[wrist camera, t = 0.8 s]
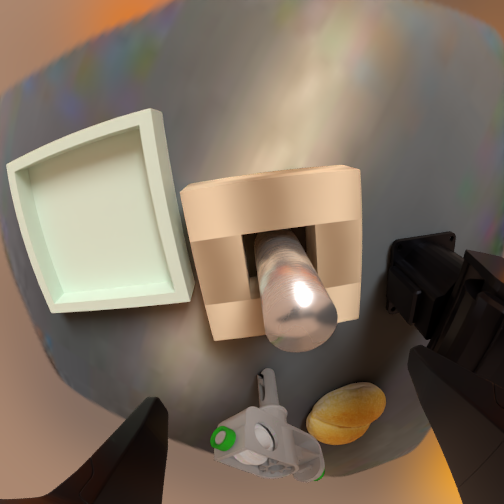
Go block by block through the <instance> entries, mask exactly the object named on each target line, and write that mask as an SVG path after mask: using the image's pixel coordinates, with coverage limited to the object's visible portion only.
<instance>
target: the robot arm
mask: <svg viewBox="0 0 504 504" xmlns="http://www.w3.org/2000/svg"><path fill="white" fill-rule="evenodd" d="M450 237H451V238H450ZM455 239H456V236H455V234H454V233H453V232H450V231H449V232H443V233H436V234H430V235H423V236H417V237H410V238H404V239H397V240H395V241H394V242H393V244H392V251H391V266H390V269H389V273H388V284H387V294H386V297H387V306H386V310H387V311H388V312H389V314H394V313H398V312H399V313H400V314H401V315H402V317H403V318H404V319H405V320H406V322H407V323H408V324H409V325H415V327H416V328H417V329H418V330H419V332H420V333H421V334H422V335H423V337H424V338H425V339H426V340H429V339H430V341H429V343H428V345H427V347H425V346H423V345H418V346H415V347H413V348H411V350H410V353H409V359H408V370H409V373H410V376H411V379H412V381H413V384H414V387H415V390H416V392H417V395H418V398H419V401H420V403H421V406H422V408H423V410H424V412H425V414H426V416H427V418H428V420H429V423H430V425H431V427H432V429H433V431H434V433H435V435H436V438H437V440H438V442H439V444H440V447H441V449H442V451H443V454H444V456H445V458H446V461H447V463H448V466H449V468H450V470H451V473H452V476H453V478H454V481H455V483H456V486H457V488H458V492H459V494H460V497H461V500H462V503H463V504H504V258H503V257H500V256H496V255H491V254H486V253H481V252H476V251H471V250H466V251H465V254H464V257H463V258H462V257H461V256H459V255H458V254H456V253H455V252H454V248H455ZM399 244H400V247H399V248H398V249H397V246H398V245H399ZM392 307H393V308H392ZM391 308H392V309H391ZM167 450H168V411H167V409H166V408H165V406H164V405H163V403H162V402H161V400H160V399H159V398H158V397H147V398H146V399H145V400H144V401H143V402H142V403H141V404H140V405H139V406H138V407H137V409H136V410H135V411H134V412H133V413H132V414H131V415H130V416H129V417H128V418H127V419H126V420H125V421H124V422H123V424H122V425H121V426H120V427H119V428H118V429H117V430H116V431H115V432H114V433H113V434H112V435H111V436H110V437H109V438H108V439H107V440H106V441H105V442H104V444H103V445H102V446H101V447H100V448H99V449H98V450H97V451H96V452H95V453H94V454H93V455H92V456H91V457H90V458H89V459H88V460H87V461H86V462H85V463H84V464H83V465H82V466H81V467H80V468H79V469H78V470H77V471H76V472H75V473H73V474H72V475H71V476H70V477H69V478H68V479H66V480H65V481H64V482H63V483H61V484H60V485H59V486H58V487H57V488H56V489H54V490H53V491H52V492H50V493H48V494H46V495H44V496H41V497H35V498H23V499H0V504H162V494H163V485H164V476H165V467H166V460H167Z"/></svg>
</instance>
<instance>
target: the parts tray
mask: <svg viewBox="0 0 504 504" xmlns="http://www.w3.org/2000/svg"><path fill="white" fill-rule="evenodd" d="M6 166H7V173H8V178H9V184H10V189H11V193H12V198H13V203H14V207H15V211H16V215H17V219H18V222H19V226H20V230H21V233H22V237H23V240H24V243H25V246H26V249H27V252H28V255H29V258H30V261H31V264H32V267H33V269H34V272H35V275H36V277H37V280H38V283H39V285H40V288H41V290H42V292H43V295H44V297H45V299H46V302H47V304H48V306H49V308H50V311H51V313H63V312H79V311H94V310H107V309H120V308H131V307H142V306H153V305H163V304H172V303H182V302H190V300H191V297H192V293H193V290H194V286H195V280H194V276H193V272H192V268H191V264H190V259H189V255H188V251H187V246H186V242H185V237H184V232H183V228H182V223H181V218H180V213H179V208H178V203H177V198H176V193H175V188H174V182H173V177H172V171H171V166H170V160H169V154H168V148H167V142H166V135H165V129H164V122H163V115H162V112H160V111H157V110H155V109H152V108H149V109H145V110H142V111H138V112H135V113H131V114H128V115H124V116H121V117H118V118H115V119H112V120H109V121H106V122H103V123H100V124H97V125H94V126H91V127H88V128H86V129H83V130H80V131H78V132H75V133H73V134H70V135H68V136H65V137H63V138H60V139H58V140H56V141H53V142H51V143H49V144H47V145H44V146H42V147H40V148H38V149H36V150H34V151H32V152H30V153H28V154H26V155H24V156H22V157H20V158H18V159H16V160H14V161H12V162H10V163H8V164H6Z"/></svg>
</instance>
